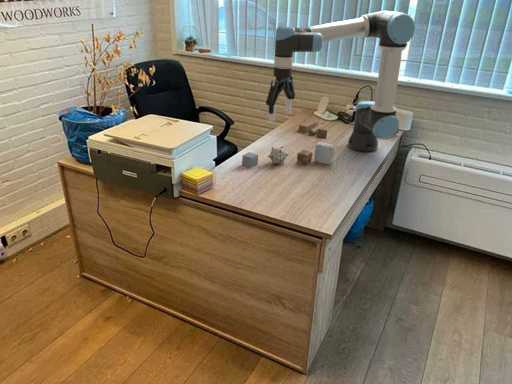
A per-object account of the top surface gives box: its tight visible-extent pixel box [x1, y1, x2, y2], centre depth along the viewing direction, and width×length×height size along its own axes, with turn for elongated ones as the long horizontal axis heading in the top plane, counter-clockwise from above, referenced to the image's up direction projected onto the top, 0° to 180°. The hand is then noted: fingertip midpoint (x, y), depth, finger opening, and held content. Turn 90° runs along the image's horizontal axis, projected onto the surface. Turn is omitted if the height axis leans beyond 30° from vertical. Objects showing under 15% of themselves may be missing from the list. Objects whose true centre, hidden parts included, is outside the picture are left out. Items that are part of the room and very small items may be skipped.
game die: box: [267, 145, 289, 166], centre depth 196 cm, size 9×8×10 cm
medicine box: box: [313, 141, 335, 166], centre depth 199 cm, size 8×4×9 cm, turn 65°
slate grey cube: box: [241, 151, 259, 169], centre depth 194 cm, size 5×5×5 cm
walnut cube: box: [296, 149, 313, 166], centre depth 199 cm, size 5×5×5 cm
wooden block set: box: [298, 117, 328, 139], centre depth 239 cm, size 17×6×18 cm
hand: (279, 116), depth 187 cm, fingers open, 13 cm apart
